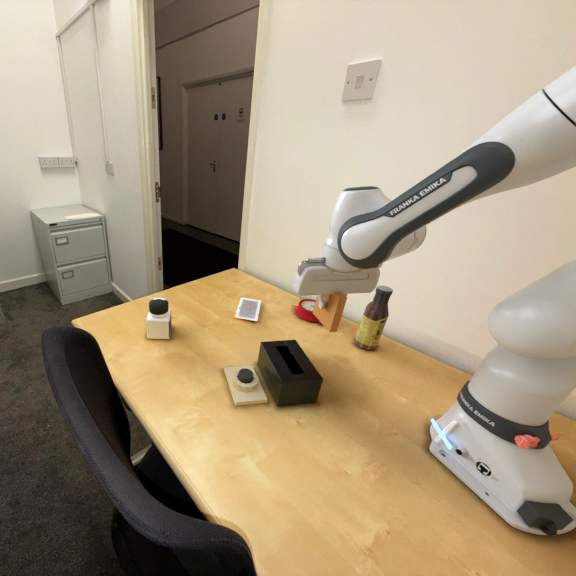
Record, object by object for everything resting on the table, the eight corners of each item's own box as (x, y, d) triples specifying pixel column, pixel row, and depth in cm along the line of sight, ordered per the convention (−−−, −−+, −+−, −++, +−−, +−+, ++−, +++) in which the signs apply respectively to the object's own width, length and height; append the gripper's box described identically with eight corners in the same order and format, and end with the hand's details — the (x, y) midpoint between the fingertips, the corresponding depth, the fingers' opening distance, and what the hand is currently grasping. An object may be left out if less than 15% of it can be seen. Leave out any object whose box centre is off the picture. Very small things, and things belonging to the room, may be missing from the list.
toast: (337, 331, 75) (347, 297, 70) (329, 332, 75) (339, 297, 70) (319, 312, 83) (327, 280, 78) (312, 313, 83) (320, 280, 78)
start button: (254, 382, 75) (255, 377, 74) (240, 384, 74) (241, 379, 74) (249, 372, 78) (250, 367, 77) (236, 373, 78) (237, 368, 77)
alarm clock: (300, 295, 114) (342, 300, 104) (300, 309, 116) (342, 316, 106) (289, 305, 107) (333, 312, 97) (289, 321, 109) (333, 329, 99)
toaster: (316, 403, 73) (323, 379, 69) (277, 407, 72) (282, 382, 68) (290, 361, 86) (295, 339, 82) (257, 364, 85) (260, 341, 81)
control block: (267, 402, 73) (268, 394, 71) (235, 405, 72) (236, 397, 70) (251, 368, 83) (253, 360, 82) (224, 370, 82) (224, 362, 81)
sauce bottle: (374, 353, 90) (396, 296, 81) (351, 345, 93) (370, 289, 84) (377, 343, 94) (399, 288, 85) (356, 335, 98) (374, 281, 89)
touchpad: (260, 303, 115) (261, 298, 114) (256, 323, 103) (257, 318, 102) (240, 299, 117) (241, 294, 116) (234, 319, 105) (234, 314, 104)
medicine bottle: (169, 339, 94) (169, 307, 88) (147, 339, 94) (145, 306, 88) (171, 326, 100) (171, 295, 95) (150, 325, 100) (148, 294, 95)
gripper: (306, 263, 66) (295, 315, 73) (390, 261, 69) (372, 311, 75) (294, 253, 72) (285, 302, 78) (372, 251, 74) (357, 299, 81)
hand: (328, 307), depth 77 cm, fingers closed on toast, 2 cm apart
